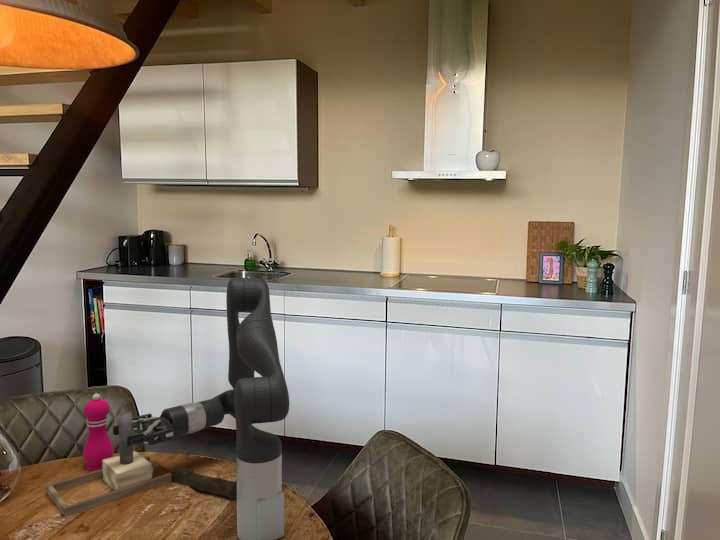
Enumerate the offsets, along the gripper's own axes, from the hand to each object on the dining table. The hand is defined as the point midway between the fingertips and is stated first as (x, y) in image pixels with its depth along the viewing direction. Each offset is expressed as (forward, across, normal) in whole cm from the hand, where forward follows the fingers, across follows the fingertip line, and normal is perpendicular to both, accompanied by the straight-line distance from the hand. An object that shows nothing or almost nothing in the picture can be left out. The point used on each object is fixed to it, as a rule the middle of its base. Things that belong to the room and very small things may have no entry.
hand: (119, 436), depth 136 cm
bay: (+3, 0, +13) cm, 13 cm away
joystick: (-1, 0, +12) cm, 12 cm away
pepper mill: (0, -14, +13) cm, 19 cm away
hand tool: (-14, +14, +13) cm, 24 cm away
